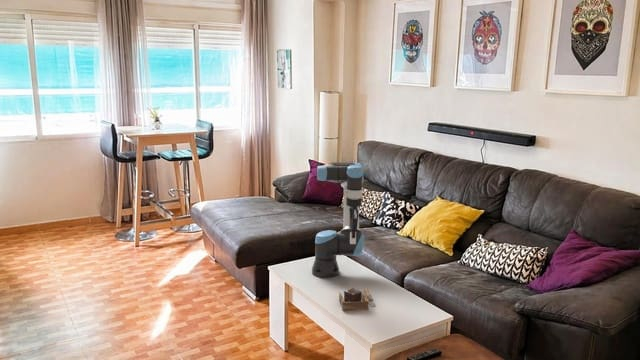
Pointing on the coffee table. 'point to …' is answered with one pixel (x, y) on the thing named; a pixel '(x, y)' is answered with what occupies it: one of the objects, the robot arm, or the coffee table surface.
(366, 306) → the box
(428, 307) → the coffee table surface
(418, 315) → the coffee table surface
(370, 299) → the scraper
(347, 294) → the box
